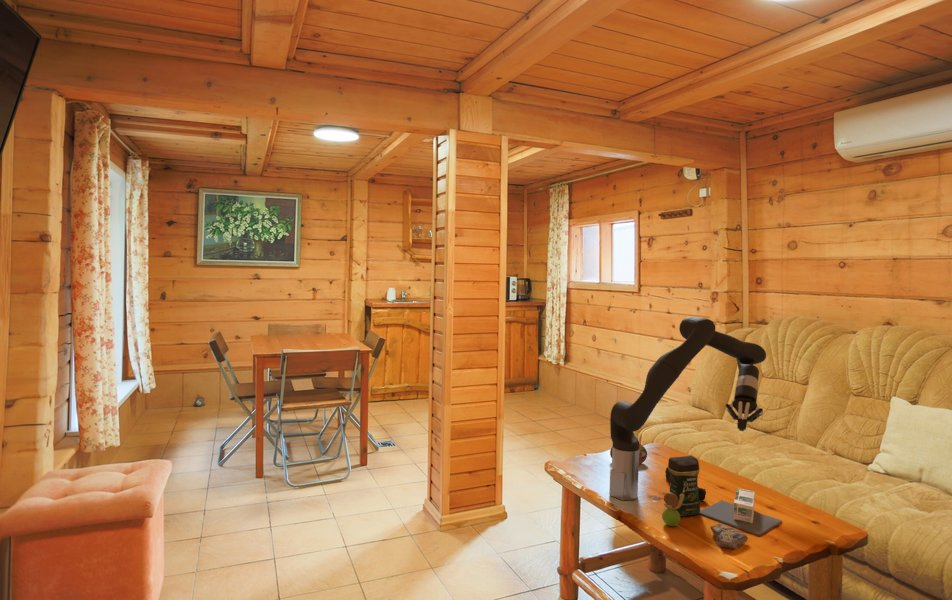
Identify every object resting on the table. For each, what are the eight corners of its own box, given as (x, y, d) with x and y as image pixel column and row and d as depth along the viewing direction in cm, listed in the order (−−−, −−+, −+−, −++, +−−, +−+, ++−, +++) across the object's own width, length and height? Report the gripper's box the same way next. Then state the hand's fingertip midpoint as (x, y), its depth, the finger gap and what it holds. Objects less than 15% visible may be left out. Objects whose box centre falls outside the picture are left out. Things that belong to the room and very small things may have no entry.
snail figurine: (681, 531, 173) (682, 493, 173) (659, 526, 177) (661, 488, 176) (684, 525, 178) (686, 487, 177) (664, 520, 181) (665, 483, 181)
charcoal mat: (759, 536, 171) (759, 534, 171) (697, 513, 187) (697, 511, 187) (781, 522, 181) (782, 520, 181) (721, 501, 197) (721, 500, 197)
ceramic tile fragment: (703, 522, 174) (734, 521, 174) (702, 532, 174) (734, 532, 174) (722, 541, 162) (756, 541, 162) (721, 552, 162) (755, 552, 162)
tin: (610, 464, 234) (611, 444, 233) (609, 461, 237) (609, 441, 236) (647, 464, 234) (647, 444, 233) (644, 462, 237) (645, 442, 236)
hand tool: (706, 502, 197) (707, 486, 197) (693, 502, 196) (694, 486, 196) (674, 478, 219) (674, 464, 219) (662, 478, 219) (663, 464, 218)
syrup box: (755, 491, 191) (753, 505, 178) (754, 508, 191) (752, 524, 178) (736, 487, 193) (733, 501, 181) (735, 504, 194) (732, 520, 181)
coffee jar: (677, 518, 182) (675, 462, 181) (665, 508, 190) (663, 454, 189) (704, 515, 184) (703, 459, 183) (691, 505, 192) (690, 451, 191)
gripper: (726, 382, 213) (720, 421, 203) (766, 386, 206) (761, 427, 196) (728, 393, 218) (722, 432, 208) (766, 398, 211) (762, 438, 201)
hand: (741, 429), depth 202 cm, fingers closed
